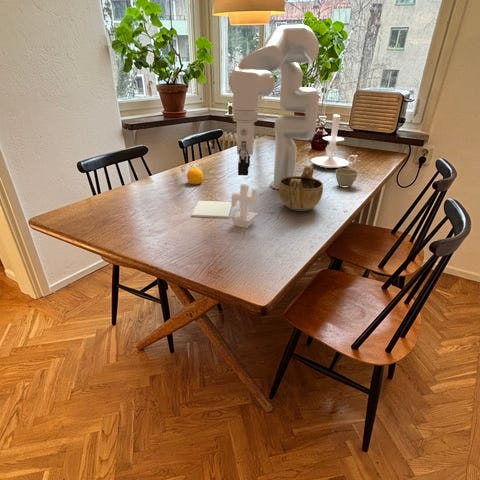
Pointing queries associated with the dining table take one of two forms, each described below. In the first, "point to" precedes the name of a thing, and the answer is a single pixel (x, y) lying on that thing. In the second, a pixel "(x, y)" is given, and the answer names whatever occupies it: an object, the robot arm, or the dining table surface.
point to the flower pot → (346, 176)
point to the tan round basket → (301, 191)
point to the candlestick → (333, 149)
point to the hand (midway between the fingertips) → (244, 170)
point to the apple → (195, 176)
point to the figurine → (244, 206)
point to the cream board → (212, 209)
